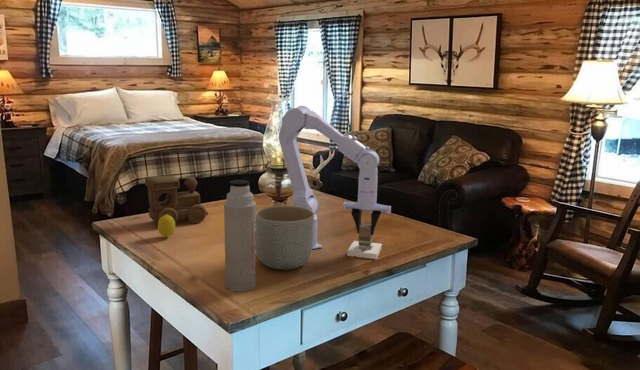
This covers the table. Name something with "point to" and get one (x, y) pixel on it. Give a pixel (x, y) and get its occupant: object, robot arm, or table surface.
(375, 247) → the sleeve block
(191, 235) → the table surface
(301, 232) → the planter
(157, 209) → the wooden toy train
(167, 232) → the lemon
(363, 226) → the post
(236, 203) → the thermos bottle
